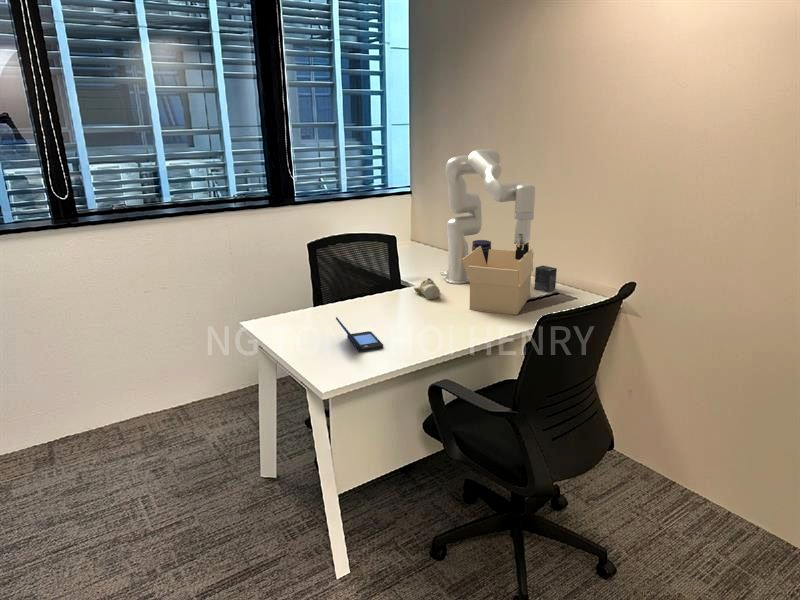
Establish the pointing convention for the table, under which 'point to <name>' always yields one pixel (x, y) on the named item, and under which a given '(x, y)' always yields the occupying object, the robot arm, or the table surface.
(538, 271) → the box
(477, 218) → the robot arm
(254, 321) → the table surface
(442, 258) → the table surface
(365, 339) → the handheld device with antenna
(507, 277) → the carton
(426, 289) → the ceramic sculpture
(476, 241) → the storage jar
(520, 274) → the flap
